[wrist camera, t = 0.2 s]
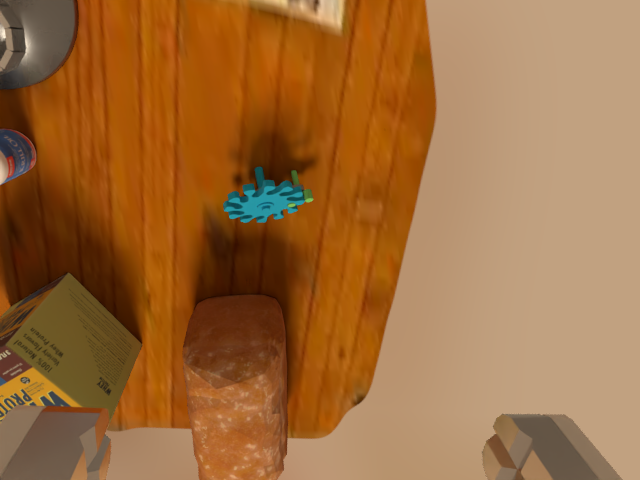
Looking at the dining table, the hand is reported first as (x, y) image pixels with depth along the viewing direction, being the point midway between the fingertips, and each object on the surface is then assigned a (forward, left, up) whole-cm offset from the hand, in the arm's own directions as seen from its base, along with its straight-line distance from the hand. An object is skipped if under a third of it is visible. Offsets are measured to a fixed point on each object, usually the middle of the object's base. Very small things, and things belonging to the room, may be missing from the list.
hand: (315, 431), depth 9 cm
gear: (+13, 0, -48) cm, 49 cm away
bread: (+39, 0, -47) cm, 61 cm away
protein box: (+34, -24, -47) cm, 63 cm away
